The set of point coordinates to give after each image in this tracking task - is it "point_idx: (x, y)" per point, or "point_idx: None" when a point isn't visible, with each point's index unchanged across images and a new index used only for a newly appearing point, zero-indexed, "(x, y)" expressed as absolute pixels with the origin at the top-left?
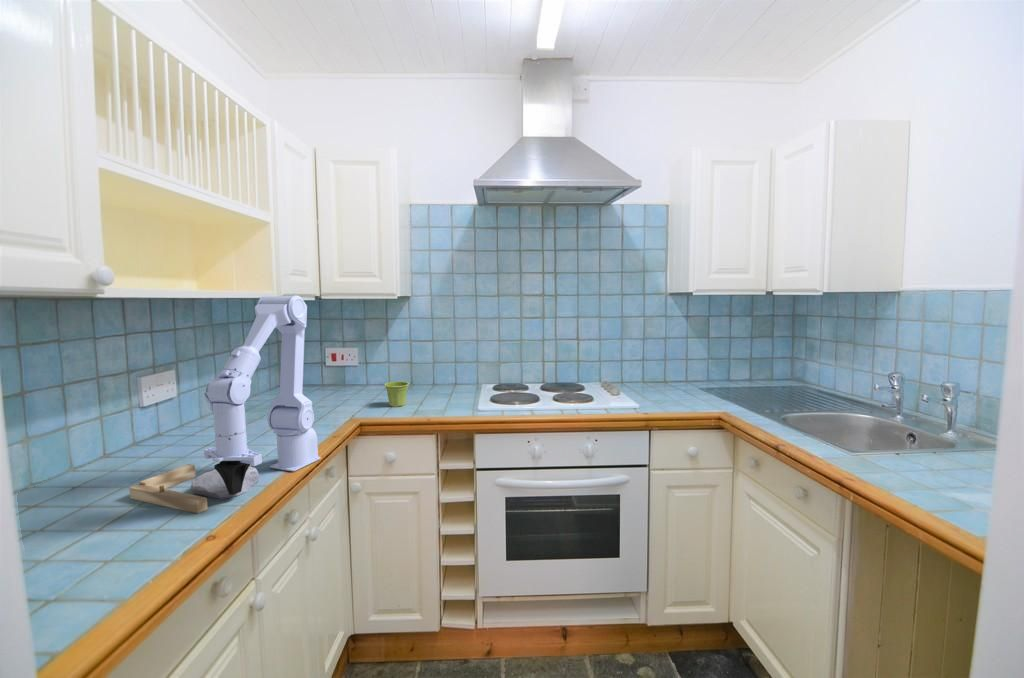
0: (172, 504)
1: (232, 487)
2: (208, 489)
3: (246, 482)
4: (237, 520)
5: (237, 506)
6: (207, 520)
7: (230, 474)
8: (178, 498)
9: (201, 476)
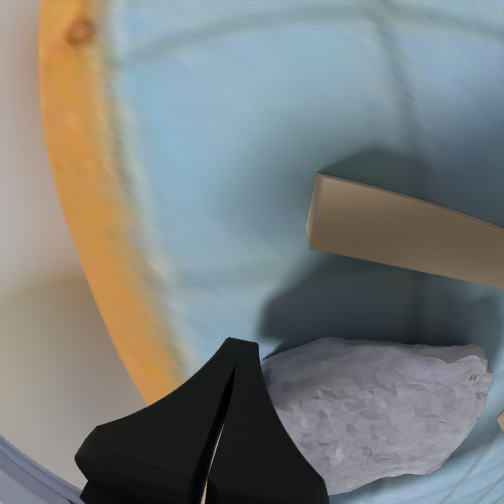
0: (491, 224)
1: (209, 362)
2: (396, 357)
3: None
4: (74, 158)
5: (172, 274)
6: (197, 117)
7: (140, 414)
8: (480, 223)
9: (470, 416)
